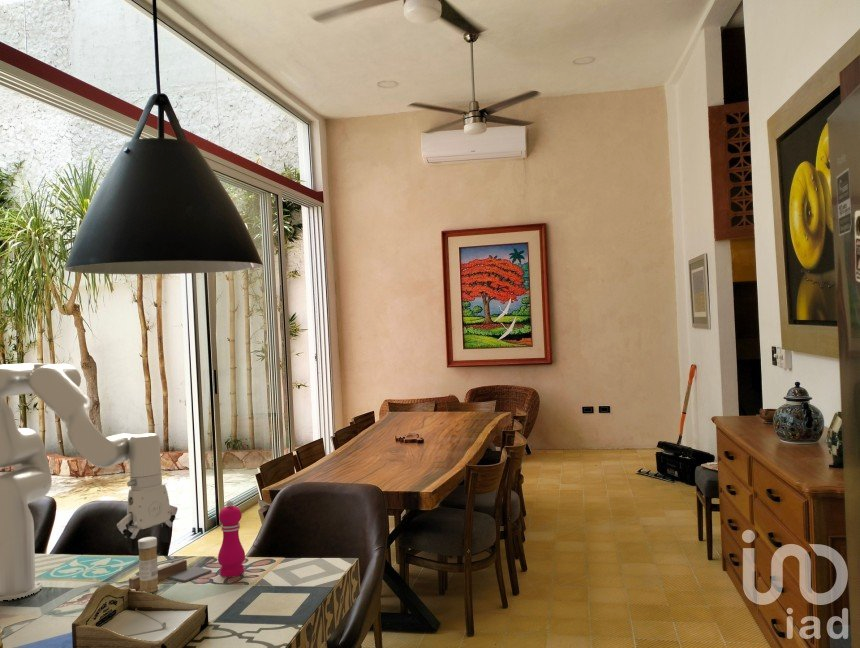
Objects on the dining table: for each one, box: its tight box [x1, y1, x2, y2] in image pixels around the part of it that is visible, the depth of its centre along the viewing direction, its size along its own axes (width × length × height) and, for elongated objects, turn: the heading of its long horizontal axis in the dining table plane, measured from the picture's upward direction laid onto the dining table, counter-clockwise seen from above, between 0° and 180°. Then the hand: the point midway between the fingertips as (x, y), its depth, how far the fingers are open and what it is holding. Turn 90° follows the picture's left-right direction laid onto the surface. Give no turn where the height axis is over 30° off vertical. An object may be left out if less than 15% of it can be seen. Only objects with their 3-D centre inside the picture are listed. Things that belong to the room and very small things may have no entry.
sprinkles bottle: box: [138, 536, 159, 593], centre depth 178 cm, size 5×5×14 cm
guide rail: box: [128, 559, 188, 590], centre depth 186 cm, size 2×17×3 cm, turn 149°
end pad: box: [167, 566, 212, 583], centre depth 189 cm, size 7×9×1 cm
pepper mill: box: [217, 500, 246, 578], centre depth 189 cm, size 7×7×20 cm
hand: (150, 547), depth 178 cm, fingers open, 9 cm apart
